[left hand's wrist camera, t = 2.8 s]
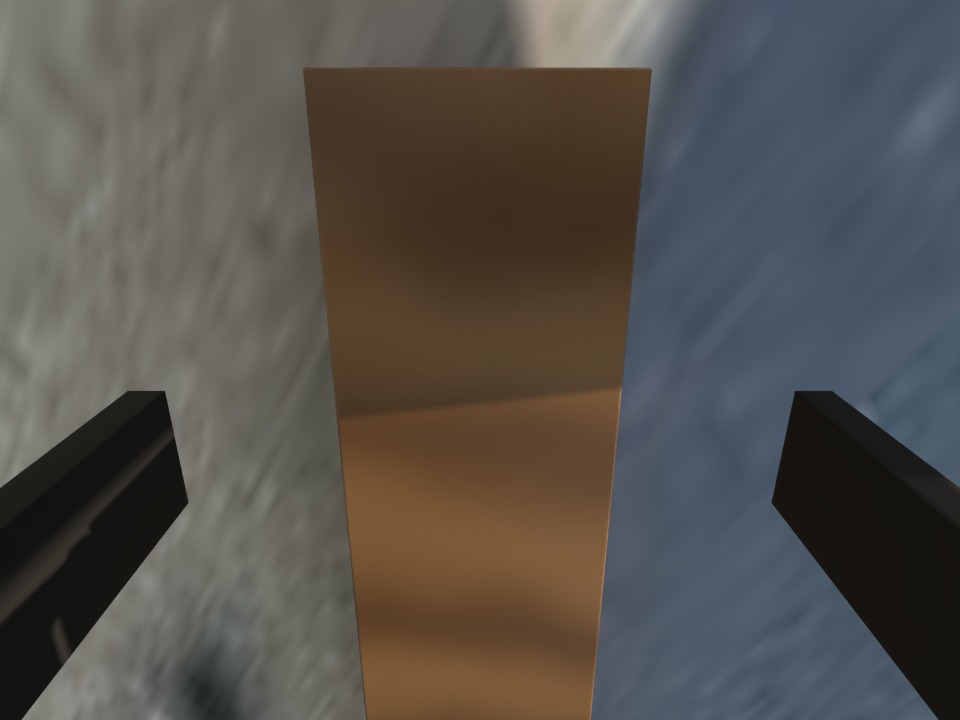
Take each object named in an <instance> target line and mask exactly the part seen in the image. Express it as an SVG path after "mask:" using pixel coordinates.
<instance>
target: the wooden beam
mask: <svg viewBox="0 0 960 720" xmlns="http://www.w3.org/2000/svg"><path fill="white" fill-rule="evenodd" d="M651 72H652V70H651V68H304V70H303V73H304V83H305V93H306V104H307V114H308V124H309V135H310V145H311V155H312V165H313V176H314V186H315V196H316V206H317V217H318V227H319V237H320V248H321V258H322V268H323V278H324V289H325V299H326V309H327V319H328V330H329V340H330V350H331V361H332V371H333V381H334V391H335V402H336V412H337V422H338V432H339V443H340V453H341V463H342V474H343V484H344V494H345V504H346V515H347V525H348V535H349V545H350V556H351V566H352V576H353V587H354V597H355V607H356V617H357V628H358V638H359V648H360V658H361V669H362V679H363V689H364V699H365V710H366V720H590V718H591V708H592V697H593V687H594V676H595V665H596V655H597V644H598V634H599V623H600V612H601V602H602V591H603V581H604V570H605V559H606V549H607V538H608V528H609V517H610V506H611V496H612V485H613V475H614V464H615V453H616V443H617V432H618V422H619V411H620V400H621V390H622V379H623V369H624V358H625V347H626V337H627V326H628V316H629V305H630V294H631V284H632V273H633V263H634V252H635V241H636V231H637V220H638V210H639V199H640V188H641V178H642V167H643V157H644V146H645V135H646V125H647V114H648V104H649V93H650V82H651Z"/></svg>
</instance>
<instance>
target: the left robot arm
mask: <svg viewBox="0 0 960 720" xmlns="http://www.w3.org/2000/svg"><path fill="white" fill-rule="evenodd" d="M187 504H188V499H187V494H186V489H185V484H184V480H183V475H182V470H181V465H180V461H179V456H178V451H177V446H176V442H175V437H174V432H173V427H172V423H171V418H170V413H169V408H168V404H167V399H166V394H165V391H127V392H126V393H125V394H124V395H122V396H121V397H120V398H118V399H117V400H116V401H114V402H113V403H112V404H110V405H109V406H108V407H106V408H105V409H104V410H102V411H101V412H100V413H98V414H97V415H96V416H95V417H93V418H92V419H91V420H89V421H88V422H87V423H85V424H84V425H83V426H81V427H80V428H79V429H77V430H76V431H75V432H73V433H72V434H71V435H70V436H68V437H67V438H66V439H64V440H63V441H62V442H60V443H59V444H58V445H56V446H55V447H54V448H52V449H51V450H50V451H48V452H47V453H46V454H44V455H43V456H42V457H41V458H39V459H38V460H37V461H35V462H34V463H33V464H31V465H30V466H29V467H27V468H26V469H25V470H23V471H22V472H21V473H19V474H18V475H17V476H15V477H14V478H13V479H12V480H10V481H9V482H8V483H6V484H5V485H4V486H2V487H1V488H0V720H22V718H23V717H24V716H25V714H26V713H27V712H28V710H29V709H30V708H31V707H32V705H33V704H34V703H35V701H36V700H37V699H38V697H39V696H40V695H41V694H42V692H43V691H44V690H45V688H46V687H47V686H48V684H49V683H50V682H51V681H52V679H53V678H54V677H55V675H56V674H57V673H58V671H59V670H60V669H61V668H62V666H63V665H64V664H65V662H66V661H67V660H68V658H69V657H70V656H71V655H72V653H73V652H74V651H75V649H76V648H77V647H78V645H79V644H80V643H81V642H82V640H83V639H84V638H85V636H86V635H87V634H88V632H89V631H90V630H91V629H92V627H93V626H94V625H95V623H96V622H97V621H98V620H99V618H100V617H101V616H102V614H103V613H104V612H105V610H106V609H107V608H108V607H109V605H110V604H111V603H112V601H113V600H114V599H115V597H116V596H117V595H118V594H119V592H120V591H121V590H122V588H123V587H124V586H125V584H126V583H127V582H128V581H129V579H130V578H131V577H132V575H133V574H134V573H135V571H136V570H137V569H138V568H139V566H140V565H141V564H142V562H143V561H144V560H145V558H146V557H147V556H148V555H149V553H150V552H151V551H152V549H153V548H154V547H155V545H156V544H157V543H158V542H159V540H160V539H161V538H162V536H163V535H164V534H165V532H166V531H167V530H168V529H169V527H170V526H171V525H172V523H173V522H174V521H175V519H176V518H177V517H178V516H179V514H180V513H181V512H182V510H183V509H184V508H185V506H186V505H187ZM772 504H773V505H774V506H775V508H776V509H777V510H778V512H779V513H780V514H781V516H782V517H783V518H784V519H785V521H786V522H787V523H788V525H789V526H790V527H791V529H792V530H793V531H794V532H795V534H796V535H797V536H798V538H799V539H800V540H801V542H802V543H803V544H804V545H805V547H806V548H807V549H808V551H809V552H810V553H811V555H812V556H813V557H814V558H815V560H816V561H817V562H818V564H819V565H820V566H821V568H822V569H823V570H824V571H825V573H826V574H827V575H828V577H829V578H830V579H831V581H832V582H833V583H834V584H835V586H836V587H837V588H838V590H839V591H840V592H841V594H842V595H843V596H844V597H845V599H846V600H847V601H848V603H849V604H850V605H851V607H852V608H853V609H854V610H855V612H856V613H857V614H858V616H859V617H860V618H861V620H862V621H863V622H864V623H865V625H866V626H867V627H868V629H869V630H870V631H871V633H872V634H873V635H874V636H875V638H876V639H877V640H878V642H879V643H880V644H881V645H882V647H883V648H884V649H885V651H886V652H887V653H888V655H889V656H890V657H891V658H892V660H893V661H894V662H895V664H896V665H897V666H898V668H899V669H900V670H901V671H902V673H903V674H904V675H905V677H906V678H907V679H908V681H909V682H910V683H911V684H912V686H913V687H914V688H915V690H916V691H917V692H918V694H919V695H920V696H921V697H922V699H923V700H924V701H925V703H926V704H927V705H928V707H929V708H930V709H931V710H932V712H933V713H934V714H935V716H936V717H937V718H938V720H960V488H959V487H958V486H956V485H955V484H954V483H952V482H951V481H950V480H948V479H947V478H946V477H944V476H943V475H942V474H941V473H939V472H938V471H937V470H935V469H934V468H933V467H931V466H930V465H929V464H927V463H926V462H925V461H923V460H922V459H921V458H919V457H918V456H917V455H916V454H914V453H913V452H912V451H910V450H909V449H908V448H906V447H905V446H904V445H902V444H901V443H900V442H898V441H897V440H896V439H894V438H893V437H892V436H890V435H889V434H888V433H887V432H885V431H884V430H883V429H881V428H880V427H879V426H877V425H876V424H875V423H873V422H872V421H871V420H869V419H868V418H867V417H865V416H864V415H863V414H862V413H860V412H859V411H858V410H856V409H855V408H854V407H852V406H851V405H850V404H848V403H847V402H846V401H844V400H843V399H842V398H840V397H839V396H838V395H836V394H835V393H834V392H833V391H795V394H794V399H793V404H792V408H791V413H790V418H789V423H788V427H787V432H786V437H785V442H784V446H783V451H782V456H781V461H780V465H779V470H778V475H777V480H776V484H775V489H774V494H773V499H772Z"/></svg>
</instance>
